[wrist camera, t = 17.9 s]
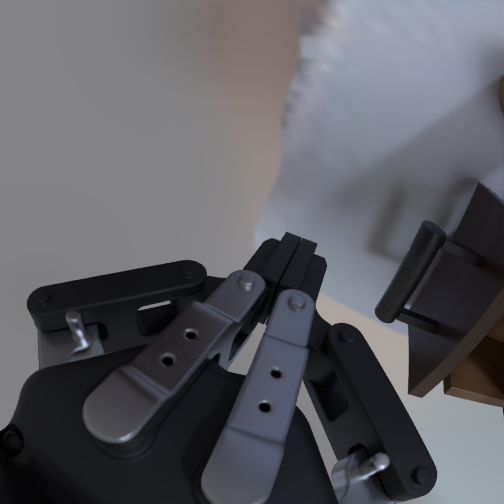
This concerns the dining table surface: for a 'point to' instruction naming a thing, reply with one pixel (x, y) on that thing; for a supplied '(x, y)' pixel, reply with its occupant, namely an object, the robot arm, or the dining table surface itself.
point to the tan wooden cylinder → (502, 94)
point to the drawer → (455, 305)
